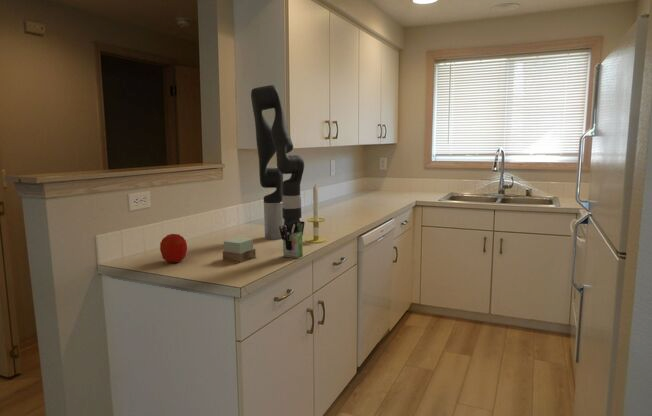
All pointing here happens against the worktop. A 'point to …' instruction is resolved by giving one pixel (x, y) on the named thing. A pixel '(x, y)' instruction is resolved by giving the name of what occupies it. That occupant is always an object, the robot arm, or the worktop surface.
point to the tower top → (238, 245)
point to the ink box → (294, 245)
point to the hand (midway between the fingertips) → (292, 248)
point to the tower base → (239, 256)
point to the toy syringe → (315, 219)
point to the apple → (173, 248)
